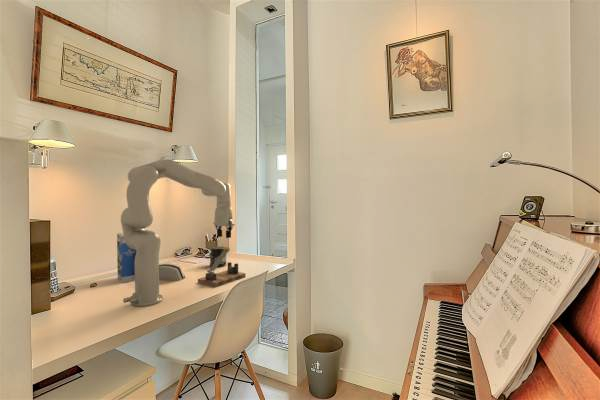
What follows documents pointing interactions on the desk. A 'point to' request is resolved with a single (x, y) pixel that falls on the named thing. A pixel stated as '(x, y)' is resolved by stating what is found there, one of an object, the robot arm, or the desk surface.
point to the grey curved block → (170, 272)
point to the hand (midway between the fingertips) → (224, 236)
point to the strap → (218, 260)
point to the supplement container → (215, 254)
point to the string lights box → (125, 260)
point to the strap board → (222, 276)
